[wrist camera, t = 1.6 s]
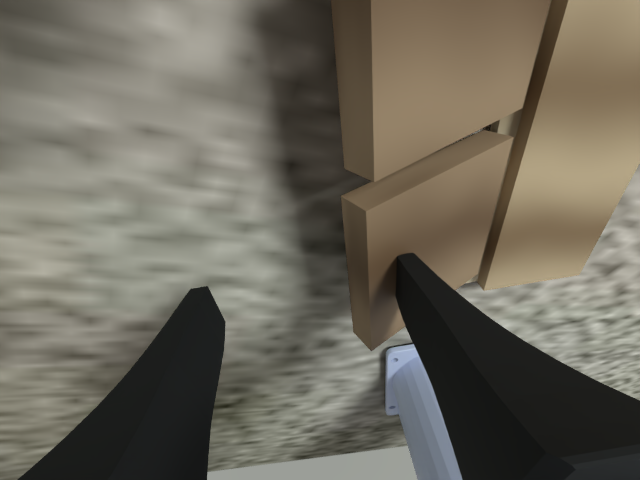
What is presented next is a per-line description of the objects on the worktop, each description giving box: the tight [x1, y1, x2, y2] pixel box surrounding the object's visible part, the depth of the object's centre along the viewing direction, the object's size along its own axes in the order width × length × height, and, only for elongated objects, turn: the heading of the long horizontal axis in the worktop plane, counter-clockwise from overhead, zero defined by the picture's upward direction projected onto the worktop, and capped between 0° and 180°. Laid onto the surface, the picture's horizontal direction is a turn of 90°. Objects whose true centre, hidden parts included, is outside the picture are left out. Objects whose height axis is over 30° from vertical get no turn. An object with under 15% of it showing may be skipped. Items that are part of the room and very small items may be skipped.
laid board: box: [466, 0, 640, 291], centre depth 12 cm, size 18×6×1 cm, turn 7°
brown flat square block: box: [341, 130, 514, 351], centre depth 13 cm, size 7×7×1 cm
